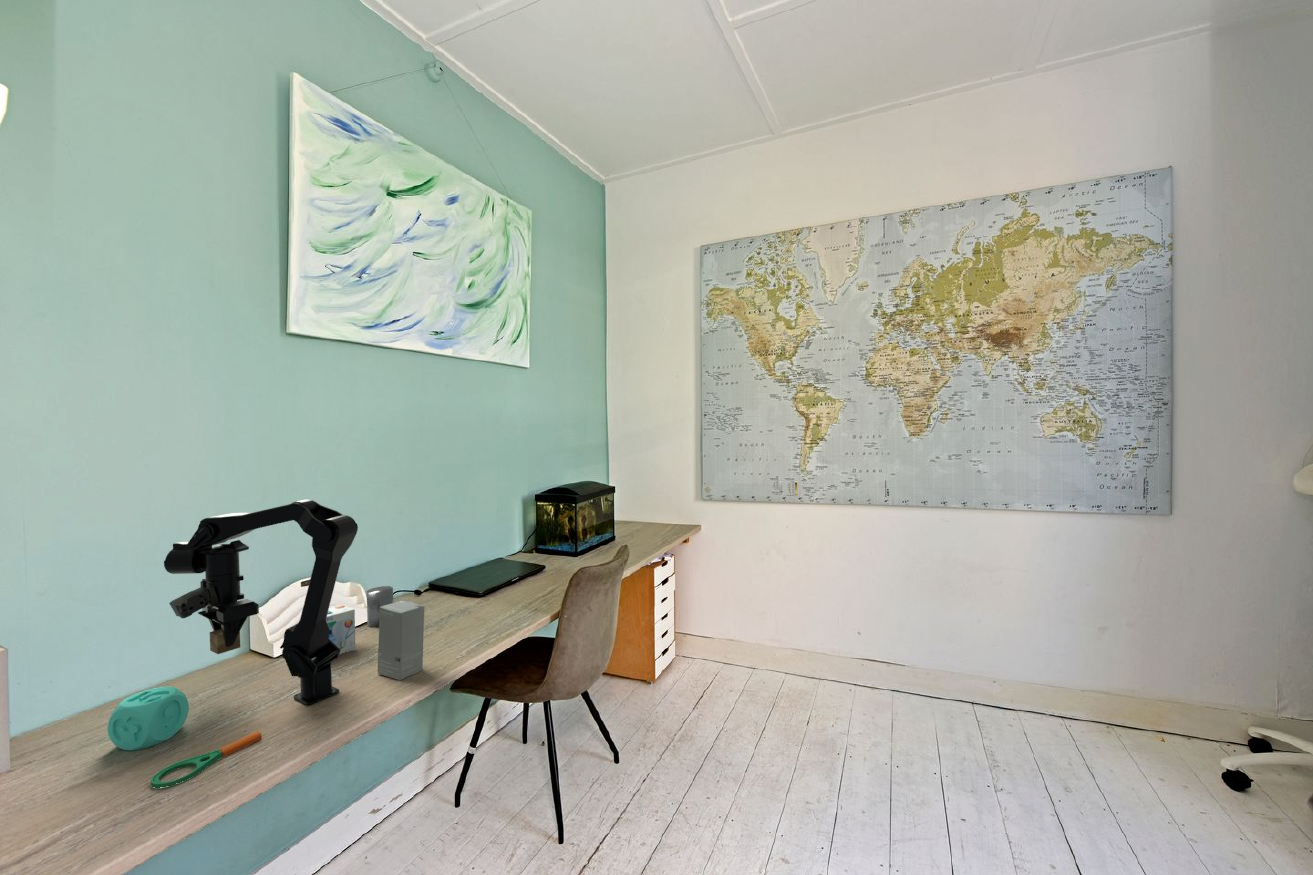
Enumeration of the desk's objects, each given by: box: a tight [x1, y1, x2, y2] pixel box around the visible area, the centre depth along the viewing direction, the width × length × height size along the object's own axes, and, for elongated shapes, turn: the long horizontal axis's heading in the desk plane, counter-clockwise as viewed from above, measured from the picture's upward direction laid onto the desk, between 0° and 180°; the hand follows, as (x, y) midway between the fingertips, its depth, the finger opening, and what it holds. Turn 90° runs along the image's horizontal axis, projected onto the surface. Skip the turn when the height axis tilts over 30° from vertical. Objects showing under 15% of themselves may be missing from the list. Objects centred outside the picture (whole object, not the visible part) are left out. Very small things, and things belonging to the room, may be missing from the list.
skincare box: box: [377, 600, 425, 681], centre depth 124 cm, size 8×7×16 cm
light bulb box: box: [311, 604, 356, 660], centre depth 136 cm, size 11×7×11 cm, turn 143°
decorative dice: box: [107, 685, 190, 751], centre depth 99 cm, size 8×8×8 cm
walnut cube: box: [209, 629, 241, 655], centre depth 114 cm, size 4×4×4 cm
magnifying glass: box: [150, 730, 263, 788], centre depth 91 cm, size 15×6×2 cm, turn 150°
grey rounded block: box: [366, 585, 394, 628], centre depth 156 cm, size 7×7×10 cm
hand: (225, 644), depth 114 cm, fingers closed on walnut cube, 4 cm apart
